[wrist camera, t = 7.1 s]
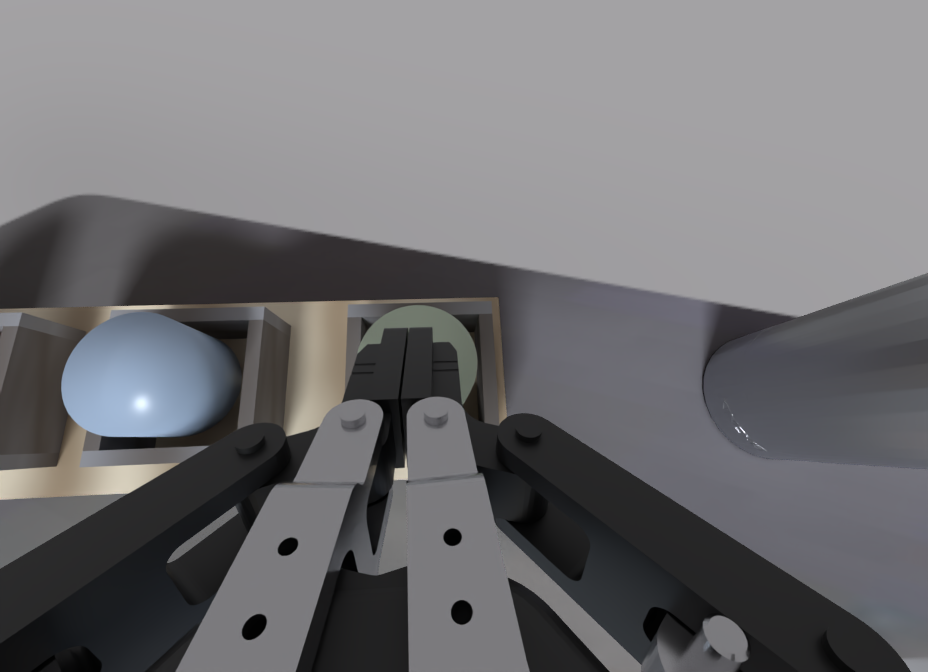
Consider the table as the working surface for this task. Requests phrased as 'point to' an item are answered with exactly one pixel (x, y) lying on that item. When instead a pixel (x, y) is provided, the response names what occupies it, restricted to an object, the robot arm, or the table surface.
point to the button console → (259, 401)
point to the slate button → (149, 378)
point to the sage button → (443, 331)
